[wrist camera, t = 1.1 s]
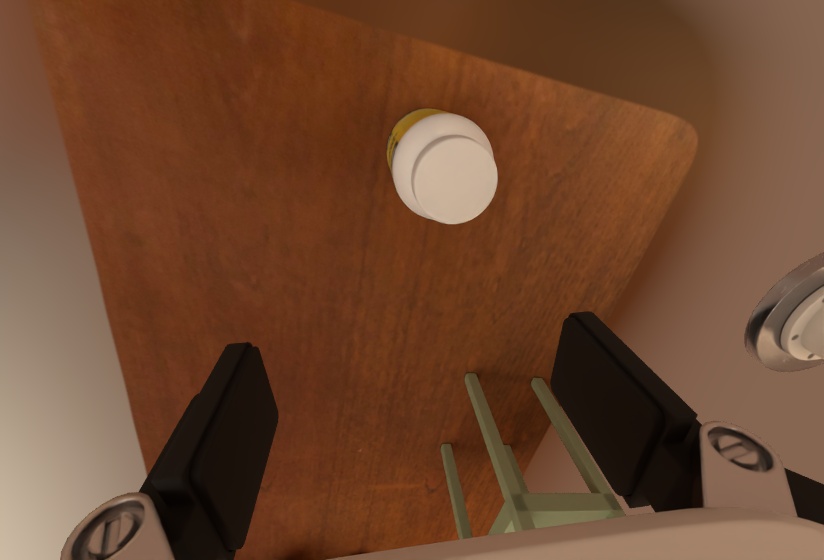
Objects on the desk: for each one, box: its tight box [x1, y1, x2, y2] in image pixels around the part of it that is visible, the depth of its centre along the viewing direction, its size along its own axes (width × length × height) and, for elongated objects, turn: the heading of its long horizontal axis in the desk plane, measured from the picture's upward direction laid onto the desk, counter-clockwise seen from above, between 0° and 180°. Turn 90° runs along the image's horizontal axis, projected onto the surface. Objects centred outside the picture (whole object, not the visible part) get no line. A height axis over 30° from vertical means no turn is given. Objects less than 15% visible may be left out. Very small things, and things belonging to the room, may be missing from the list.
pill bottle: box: [387, 108, 498, 224], centre depth 24 cm, size 6×6×12 cm
